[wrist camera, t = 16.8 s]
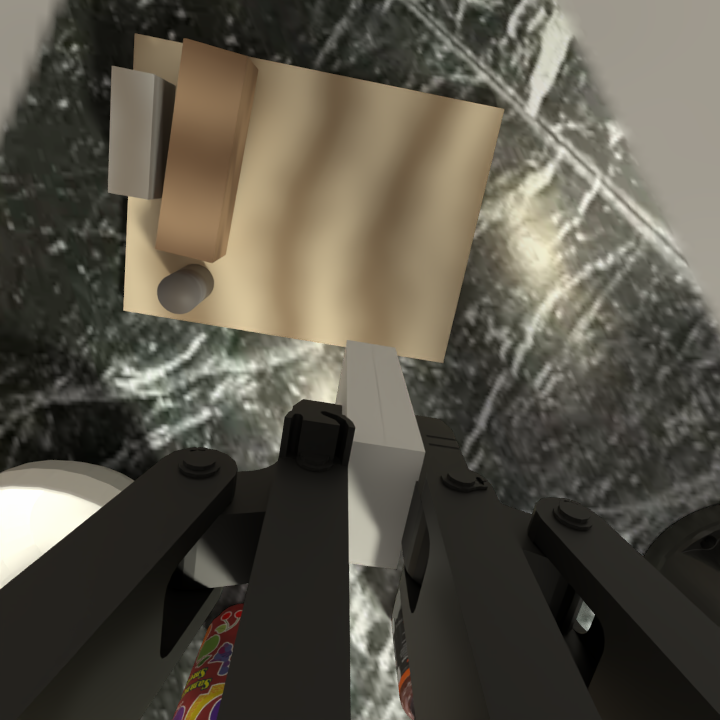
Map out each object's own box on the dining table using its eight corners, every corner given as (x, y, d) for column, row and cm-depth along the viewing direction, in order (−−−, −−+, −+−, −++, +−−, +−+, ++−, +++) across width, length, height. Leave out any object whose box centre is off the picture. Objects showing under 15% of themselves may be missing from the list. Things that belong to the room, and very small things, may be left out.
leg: (225, 254, 38) (212, 263, 34) (174, 241, 37) (155, 248, 33) (258, 69, 34) (247, 56, 30) (201, 53, 34) (183, 37, 30)
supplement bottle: (378, 624, 50) (387, 744, 40) (410, 578, 49) (428, 690, 38) (432, 646, 52) (455, 769, 41) (465, 602, 50) (498, 718, 39)
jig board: (499, 111, 36) (525, 99, 31) (440, 357, 42) (453, 383, 37) (141, 38, 35) (104, 12, 29) (129, 306, 40) (96, 326, 35)
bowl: (-57, 454, 44) (-151, 518, 36) (163, 404, 43) (120, 458, 35) (38, 629, 50) (-23, 719, 42) (234, 589, 49) (211, 673, 41)
